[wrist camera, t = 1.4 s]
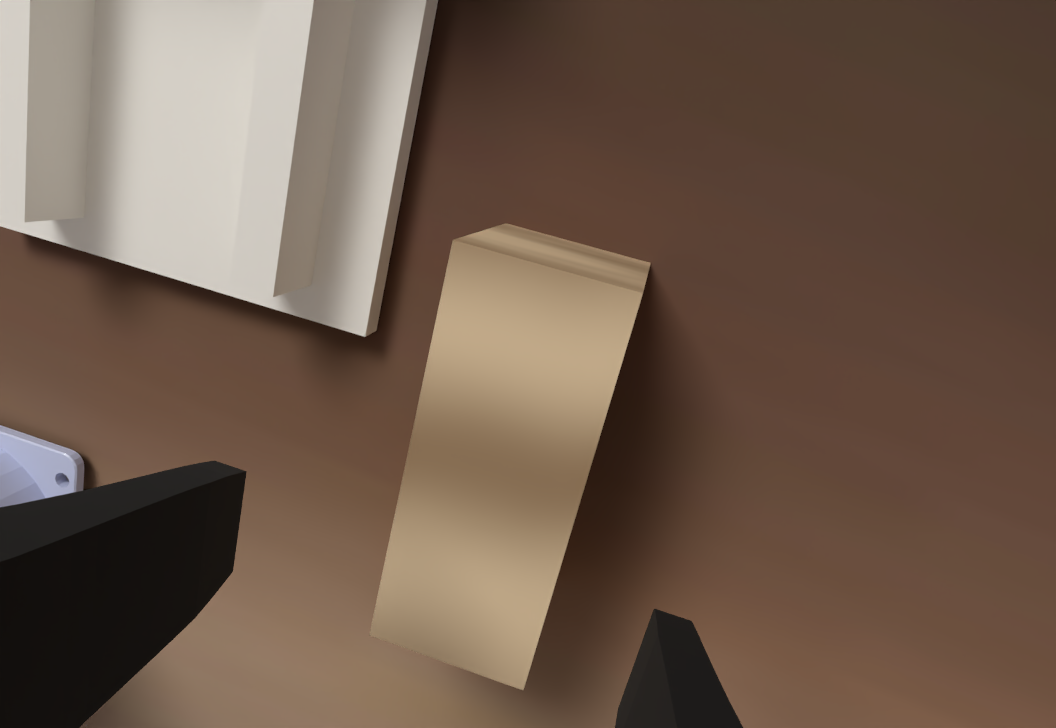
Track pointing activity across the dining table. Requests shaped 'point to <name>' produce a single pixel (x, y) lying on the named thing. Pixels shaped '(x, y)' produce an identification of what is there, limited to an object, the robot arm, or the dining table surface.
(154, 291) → the dining table surface
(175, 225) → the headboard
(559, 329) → the tan block
